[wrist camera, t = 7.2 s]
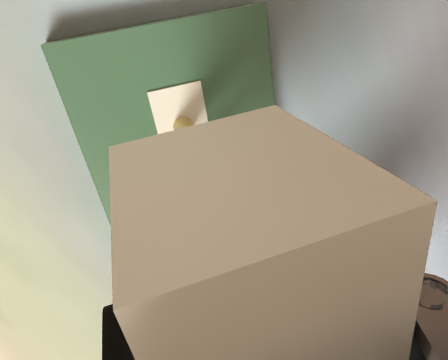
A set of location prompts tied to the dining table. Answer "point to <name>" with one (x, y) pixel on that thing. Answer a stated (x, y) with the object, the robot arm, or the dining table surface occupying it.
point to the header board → (160, 79)
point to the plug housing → (263, 245)
